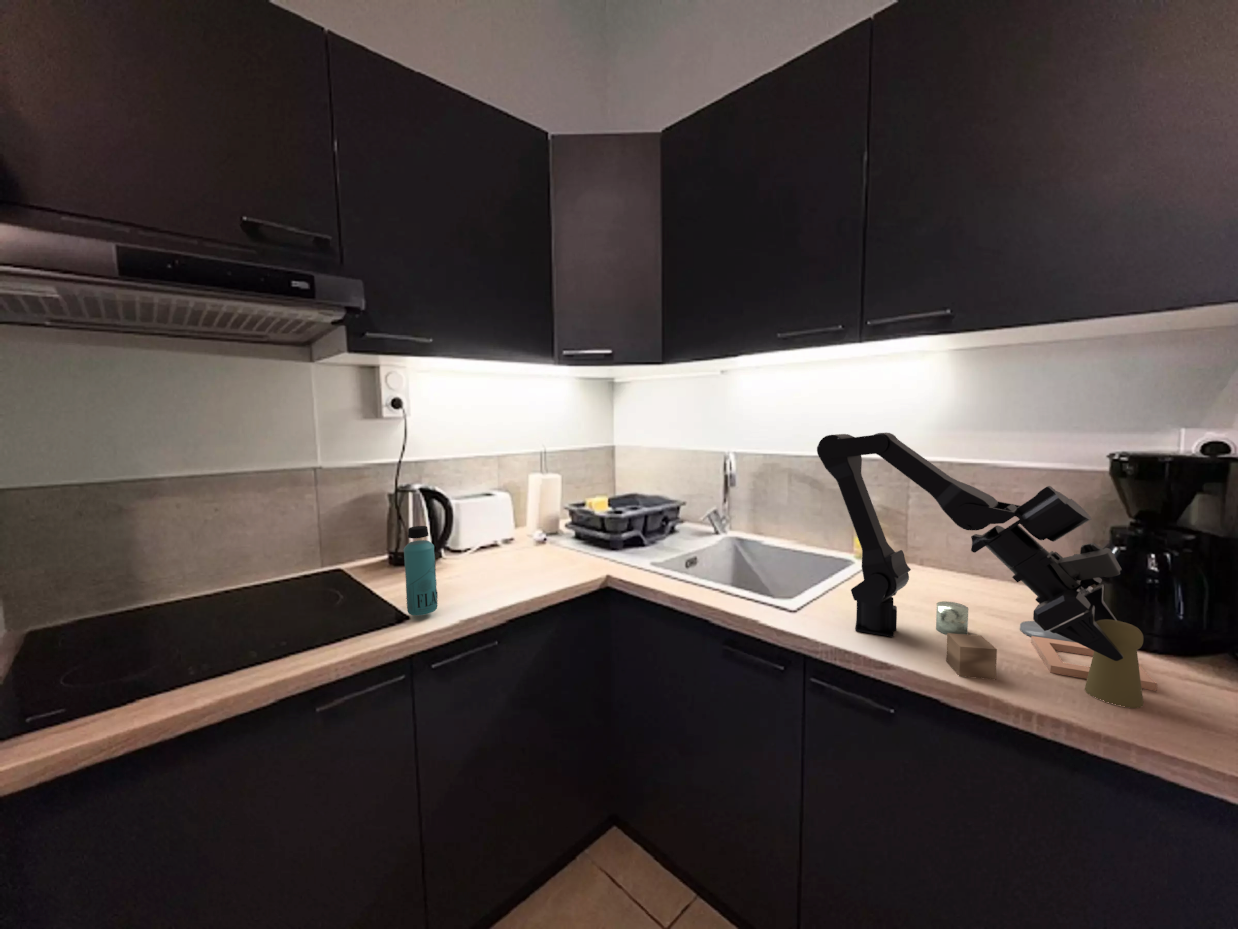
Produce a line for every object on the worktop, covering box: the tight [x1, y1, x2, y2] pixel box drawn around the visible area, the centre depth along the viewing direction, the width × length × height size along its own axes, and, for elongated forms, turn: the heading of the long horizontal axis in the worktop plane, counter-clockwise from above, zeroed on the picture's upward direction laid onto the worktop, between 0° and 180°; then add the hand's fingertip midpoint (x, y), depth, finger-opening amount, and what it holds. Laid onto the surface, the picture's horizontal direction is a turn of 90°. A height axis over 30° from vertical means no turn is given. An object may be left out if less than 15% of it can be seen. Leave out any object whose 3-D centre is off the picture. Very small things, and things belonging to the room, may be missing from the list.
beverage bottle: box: [403, 525, 439, 616], centre depth 106 cm, size 6×7×20 cm
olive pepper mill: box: [1084, 619, 1144, 709], centre depth 70 cm, size 6×6×11 cm
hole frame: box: [1030, 636, 1158, 692], centre depth 80 cm, size 12×12×1 cm
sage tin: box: [935, 600, 969, 636], centre depth 93 cm, size 5×5×5 cm
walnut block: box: [945, 633, 998, 680], centre depth 79 cm, size 5×5×5 cm
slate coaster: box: [1019, 620, 1077, 643], centre depth 91 cm, size 9×9×1 cm
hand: (1122, 648), depth 70 cm, fingers open, 9 cm apart
